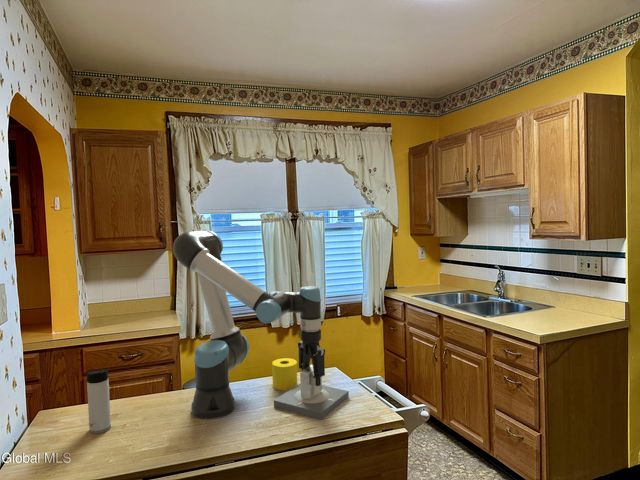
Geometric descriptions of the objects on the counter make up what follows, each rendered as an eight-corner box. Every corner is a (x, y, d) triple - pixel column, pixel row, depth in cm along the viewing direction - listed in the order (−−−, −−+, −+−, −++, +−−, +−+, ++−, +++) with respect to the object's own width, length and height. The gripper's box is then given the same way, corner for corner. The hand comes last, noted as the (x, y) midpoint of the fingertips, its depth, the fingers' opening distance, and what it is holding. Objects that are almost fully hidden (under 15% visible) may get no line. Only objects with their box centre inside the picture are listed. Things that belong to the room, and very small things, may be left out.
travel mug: (89, 436, 138) (86, 375, 136) (89, 427, 143) (86, 368, 142) (111, 431, 140) (108, 371, 139) (110, 422, 146) (107, 365, 145)
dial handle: (313, 388, 164) (313, 363, 163) (322, 390, 162) (321, 364, 162) (300, 398, 156) (300, 371, 155) (309, 400, 154) (308, 373, 153)
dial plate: (273, 406, 156) (273, 399, 156) (304, 387, 173) (304, 380, 173) (321, 420, 146) (321, 412, 146) (348, 397, 163) (348, 390, 163)
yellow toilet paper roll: (302, 384, 177) (302, 361, 176) (285, 392, 169) (285, 368, 168) (284, 378, 183) (283, 356, 182) (267, 386, 175) (267, 363, 174)
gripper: (288, 326, 162) (289, 386, 164) (318, 336, 148) (319, 402, 150) (304, 322, 167) (305, 381, 169) (334, 332, 153) (335, 396, 155)
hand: (311, 391), depth 159 cm, fingers closed on dial handle, 5 cm apart
